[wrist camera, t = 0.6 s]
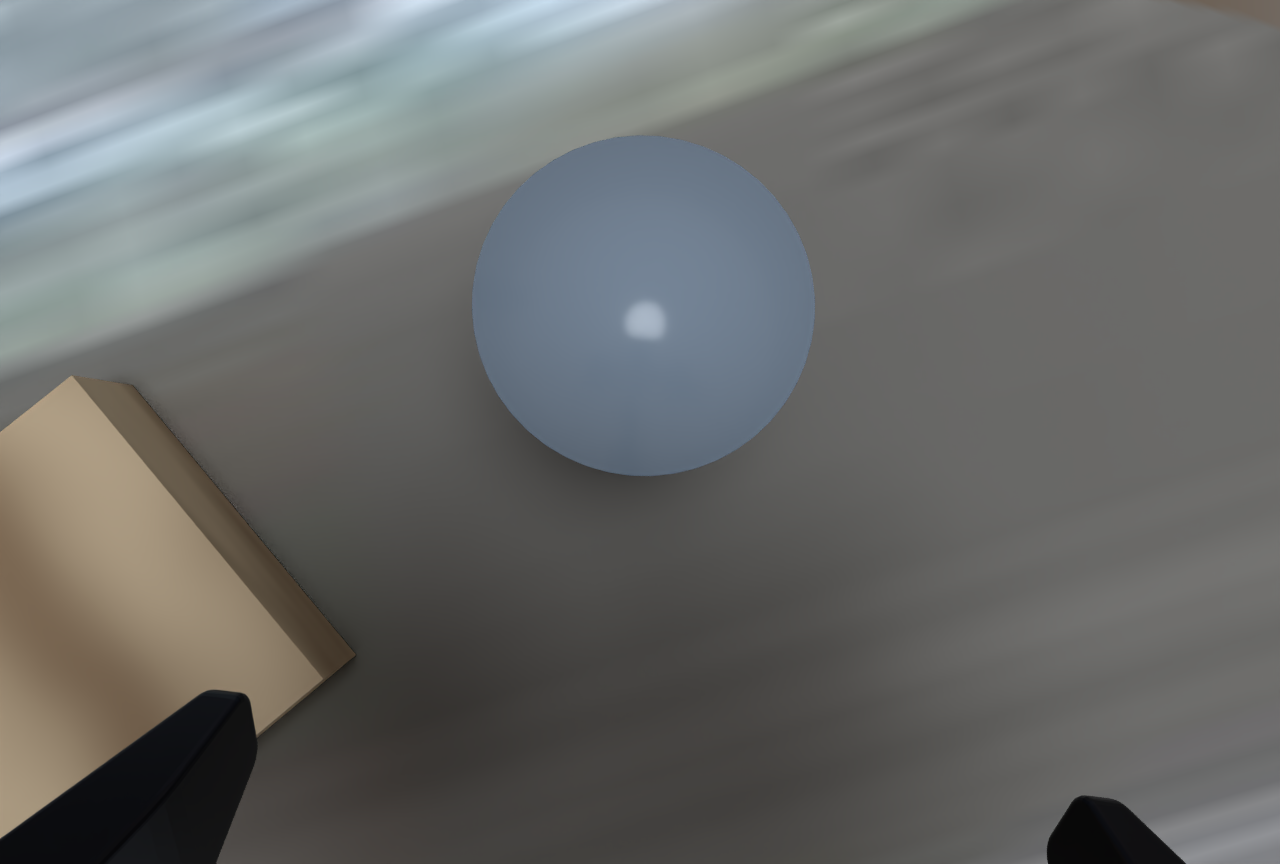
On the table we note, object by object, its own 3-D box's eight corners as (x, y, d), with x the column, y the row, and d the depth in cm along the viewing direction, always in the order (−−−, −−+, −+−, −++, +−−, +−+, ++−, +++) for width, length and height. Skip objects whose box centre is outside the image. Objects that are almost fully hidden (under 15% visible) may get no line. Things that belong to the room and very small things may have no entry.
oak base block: (73, 891, 22) (3, 946, 19) (-154, 614, 22) (-253, 633, 19) (356, 654, 22) (323, 678, 20) (132, 385, 22) (71, 375, 20)
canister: (619, 507, 23) (623, 547, 12) (504, 369, 23) (400, 281, 12) (755, 392, 23) (884, 326, 12) (641, 256, 23) (665, 67, 12)
